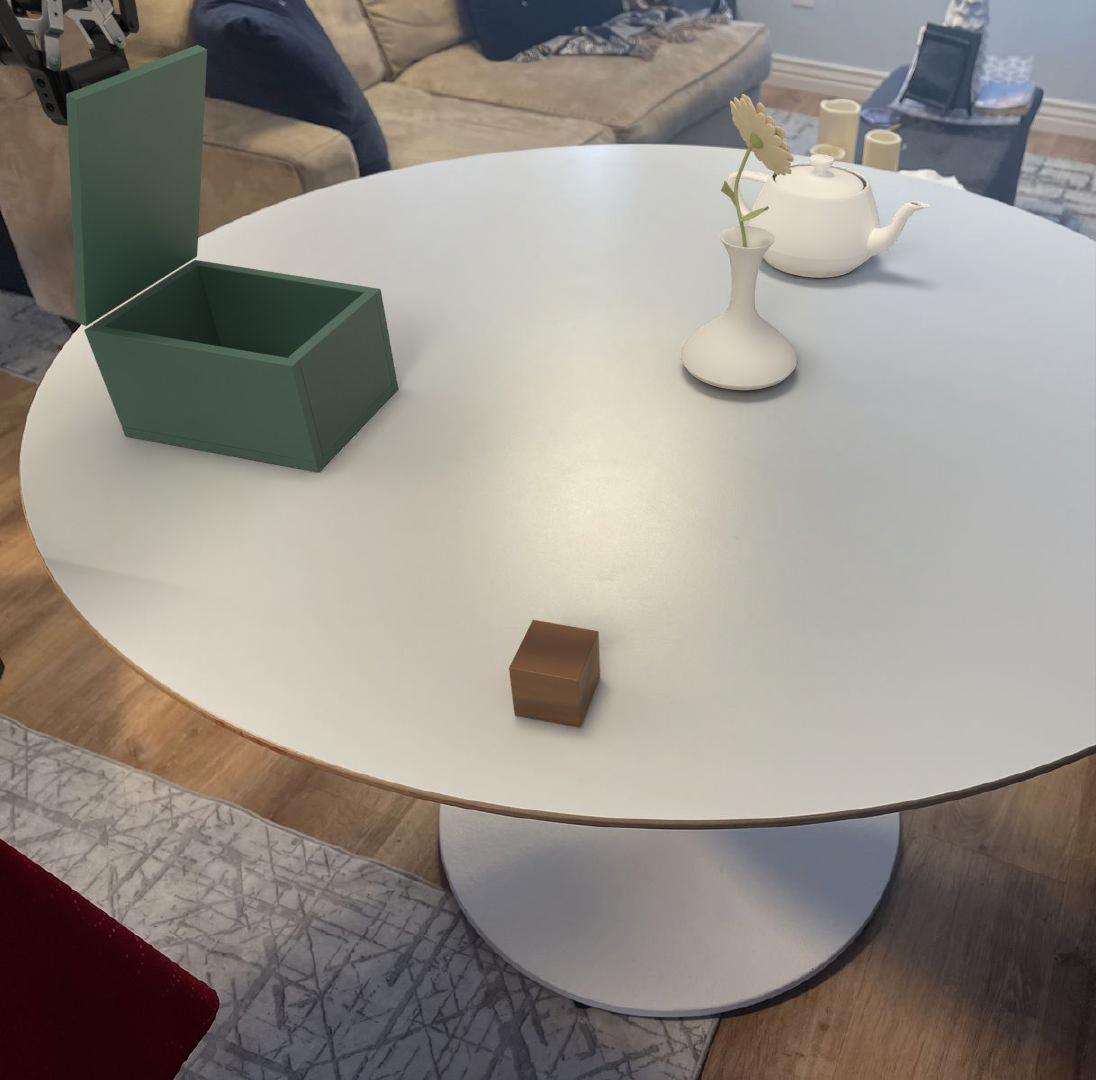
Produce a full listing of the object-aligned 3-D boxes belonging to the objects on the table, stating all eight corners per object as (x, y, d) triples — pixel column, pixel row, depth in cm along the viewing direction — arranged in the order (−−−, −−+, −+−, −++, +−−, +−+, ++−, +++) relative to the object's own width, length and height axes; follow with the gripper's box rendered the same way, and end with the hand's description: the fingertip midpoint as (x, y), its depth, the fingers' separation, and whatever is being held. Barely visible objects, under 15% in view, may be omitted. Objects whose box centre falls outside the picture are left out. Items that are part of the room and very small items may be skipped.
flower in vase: (807, 398, 95) (841, 127, 79) (689, 405, 93) (699, 128, 77) (776, 333, 105) (801, 81, 89) (669, 338, 103) (674, 80, 87)
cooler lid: (207, 49, 77) (144, 17, 76) (77, 99, 66) (3, 63, 66) (197, 256, 89) (143, 230, 88) (86, 326, 78) (24, 297, 78)
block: (580, 728, 63) (578, 680, 60) (514, 715, 63) (508, 667, 61) (600, 677, 66) (598, 630, 64) (537, 666, 67) (532, 619, 64)
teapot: (694, 258, 119) (697, 153, 111) (754, 217, 129) (761, 119, 122) (890, 313, 110) (909, 204, 102) (937, 264, 121) (957, 162, 113)
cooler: (398, 388, 93) (381, 288, 87) (318, 472, 82) (291, 365, 76) (224, 358, 95) (194, 259, 89) (125, 436, 85) (83, 329, 78)
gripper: (32, -177, 70) (118, 82, 80) (-151, -160, 59) (-24, 137, 70) (126, -171, 68) (201, 91, 79) (-43, -153, 58) (70, 148, 68)
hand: (95, 111), depth 74 cm, fingers closed on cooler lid, 5 cm apart
